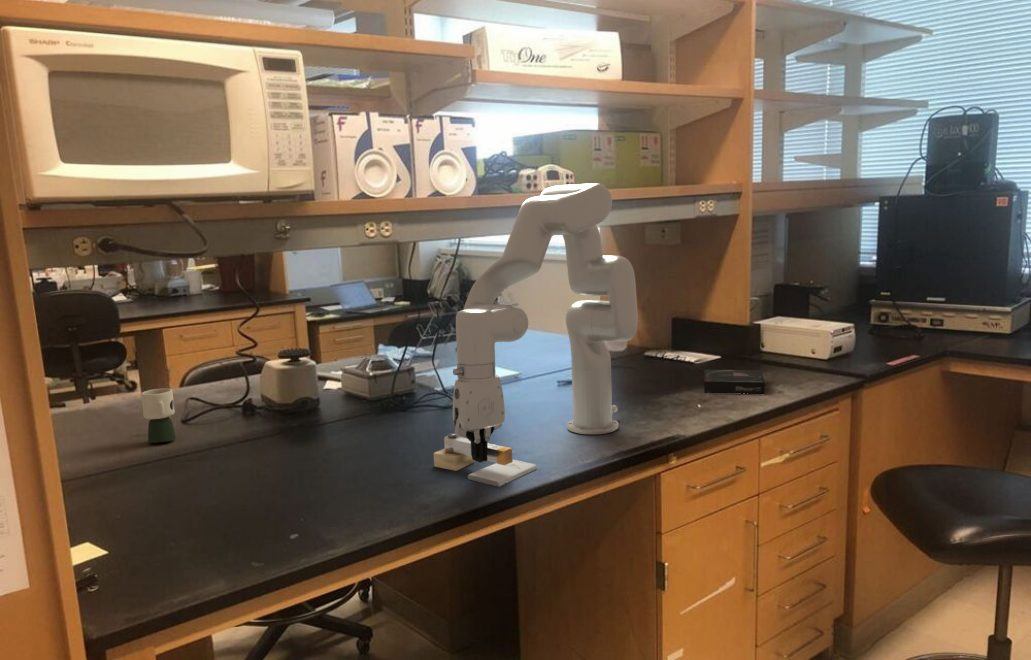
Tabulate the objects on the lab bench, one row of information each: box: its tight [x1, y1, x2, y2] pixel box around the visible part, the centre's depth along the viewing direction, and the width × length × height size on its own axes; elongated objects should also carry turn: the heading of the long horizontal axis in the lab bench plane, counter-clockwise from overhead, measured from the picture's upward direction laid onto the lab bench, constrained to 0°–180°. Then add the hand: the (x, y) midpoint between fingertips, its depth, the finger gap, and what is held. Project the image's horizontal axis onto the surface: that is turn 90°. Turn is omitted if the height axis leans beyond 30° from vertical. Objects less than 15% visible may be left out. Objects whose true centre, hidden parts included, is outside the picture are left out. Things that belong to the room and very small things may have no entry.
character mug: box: [140, 387, 177, 444], centre depth 190 cm, size 11×7×13 cm, turn 34°
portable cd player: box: [703, 369, 766, 395], centre depth 224 cm, size 16×17×4 cm
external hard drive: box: [467, 459, 538, 487], centre depth 158 cm, size 2×8×12 cm
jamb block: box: [433, 447, 475, 471], centre depth 165 cm, size 6×6×3 cm
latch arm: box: [443, 432, 514, 465], centre depth 159 cm, size 18×4×4 cm, turn 48°
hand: (479, 460), depth 154 cm, fingers closed
